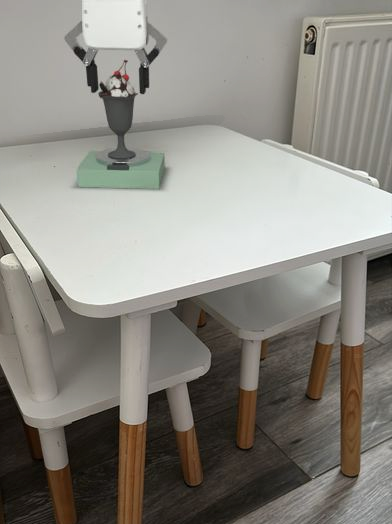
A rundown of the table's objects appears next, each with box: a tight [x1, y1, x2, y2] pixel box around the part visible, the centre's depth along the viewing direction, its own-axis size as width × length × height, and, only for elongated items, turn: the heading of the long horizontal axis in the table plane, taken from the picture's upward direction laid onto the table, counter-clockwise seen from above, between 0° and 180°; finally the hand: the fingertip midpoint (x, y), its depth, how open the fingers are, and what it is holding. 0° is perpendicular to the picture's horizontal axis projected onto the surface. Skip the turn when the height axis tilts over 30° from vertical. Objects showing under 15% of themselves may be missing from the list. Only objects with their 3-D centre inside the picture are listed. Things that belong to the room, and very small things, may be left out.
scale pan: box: [96, 147, 150, 167], centre depth 100 cm, size 10×10×1 cm
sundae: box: [98, 59, 139, 159], centre depth 95 cm, size 7×7×15 cm
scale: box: [76, 150, 166, 190], centre depth 100 cm, size 14×12×4 cm
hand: (118, 91), depth 93 cm, fingers open, 7 cm apart
